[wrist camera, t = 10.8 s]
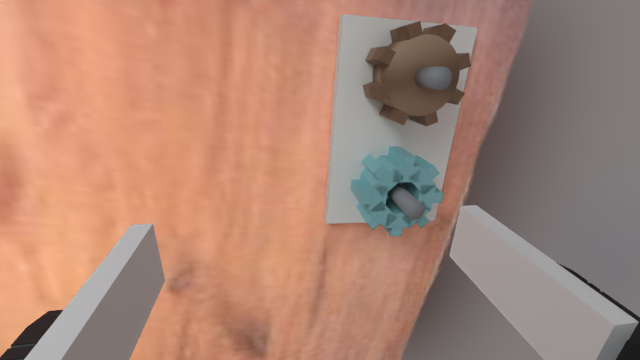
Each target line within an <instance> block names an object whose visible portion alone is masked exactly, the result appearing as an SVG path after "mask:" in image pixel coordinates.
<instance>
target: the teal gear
mask: <svg viewBox="0 0 640 360" xmlns="http://www.w3.org/2000/svg"><path fill="white" fill-rule="evenodd" d="M362 163H363V164H364V165H365V166H366V167H367V168H366V169H364V170H363V171H362V172H361V177H360V179H356V180H351V188H350V189H351V191H352V192H353V194H354V195H355V197H356V198H357V200H358V201H359V204H358V205H357V206H356V207H357V209H358V210H359V212H360V214H361V215H362V217H363V218H364V220H365V221H366V223H367V224H368V225H369V226H370V227H371V228H372V229H375V228H376V227H377V226H378V225H379V224H380V223H381V224H382V225H383V226H384V228H385V229H386V230H387V231H388V233H389V234H390V235H391V236H402V230H403V228H407V227H411V226H412V225H414V224H415V223H417V224H418V225H419V226H420V227H421V228H422V227H423V226H425V225H426V224H427V223H428V222H429V220H428V218H427V217H426V216H425V215H426V214H427V213H428V212H429V211H431V208H432V203H442V198H443V194H444V193H443V192H442V191H441V190H439V189H438V188H437V187H436V184H435V183H434V182H433V179H434V178H435V177H436V176H437V175H439V174H440V172H439V171H438V170H437V168H436V167H435V166H434V165H433V164H431V163H429V162H428V161H426V160H424V159H423V158H421V157H419V156H418V155H415V156H414V155H412V154H411V153H409V152H408V151H406V150H404V149H403V148H401V147H399V146H389V151H388V155H380V156H379V157H378V158H377V159H375V158H374V157H372V156H371V155H370V154H369V155H367V156H366V157H365V158H364V159H363V160H362ZM399 182H403V187H404V188H405V189H406V190H407V191H408V192H409V193H410V194H412V195H413V196H414V197H415V198H416V199H417V200H418V201H419V202H420V203H422V204H423V205H424V207H425V212H424V214H423V215H422V217H420V218H419V219H416V220H412V219H410V218H409V217H408V216H407V215H406V214H405V213H404V212H403V211H402V210H401V209H400V208H399V207H398V205H397V204H396V203H395V202H394V201H393V200H392V199H391V198H387V193H388V191H389V190H390V189H392V188H393V187H394V186H395V185H396V184H397V183H399Z"/></svg>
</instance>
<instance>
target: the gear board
mask: <svg viewBox="0 0 640 360" xmlns="http://www.w3.org/2000/svg"><path fill="white" fill-rule="evenodd" d="M415 22H418V21H408V20H398V19H388V18H377V17H367V16H357V15H347V14H342V15H341V16H339V28H338V42H337V55H336V69H335V82H334V96H333V109H332V122H331V136H330V149H329V163H328V176H327V189H326V203H325V216H324V218H325V221H326V223H327V224H330V223H366V221H365V220H364V218H363V217H362V215H361V214H360V212H359V210H358V209H357V207H356V206H357V205H358V204H359V201H358V200H357V198H356V197H355V195H354V194H353V192H352V191H351V189H350V188H351V180H356V179H360V177H361V172H362V171H363V170H364V169H366V168H367V167H366V166H365V165H364V164H363V163H362V160H363V159H364V158H365V157H366V156H367V155H369V154H370V155H371V156H372V157H374V158H375V159H377V158H378V157H379V156H380V155H388V151H389V146H399V147H401V148H403V149H404V150H406V151H408V152H409V153H411V154H412V155H414V156H415V155H418V156H419V157H421V158H423V159H424V160H426V161H428V162H429V163H431V164H433V165H434V166H435V167H436V168H437V170H438V171H439V172H440V174H439V175H437V176H436V177H435V178H434V179H433V182H434V183H435V184H436V187H437V188H438V189H439V190H441V191H442V186H443V182H444V177H445V173H446V168H447V164H448V159H449V155H450V150H451V146H452V141H453V137H454V132H455V128H456V123H457V118H458V114H459V109H460V105H461V100H462V99H461V100H460V102H459V104H458V105H456V104H451V103H446V104H445V105H444V106H443V107H441V108H440V109H439V110H437V111H436V113H437V118H438V122H437V123H434V124H432V125H429V126H424V125H422V124H419V123H417V122H414V121H411V120H409V118H408V119H407V120H406V122H405V124H404V126H403V125H401V124H399V123H397V122H394V121H392V120H390V119H388V118H386V117H384V116H382V115H380V114H379V113H380V111H381V109H382V107H383V105H384V104H383V103H382V102H381V101H376V100H373V99H370V98H367V97H365V93H364V89H363V86H362V85H365V84H368V83H370V82H373V79H372V77H373V69H374V66H375V65H373V64H371V63H369V62H367V61H366V60H365V59H366V57H367V55H368V53H369V51H370V49H371V48H376V47H382V46H388V45H389V44H391V43H392V39H391V34H390V30H393V29H395V28H398V27H401V26H404V25H408V24H411V23H415ZM437 25H441V24H438V23H428V22H421V27H422V31H423V29H424V28H428V27H433V26H437ZM447 25H448V24H447ZM449 26H450V27H452V28H453V29H455V30H456V32H455V34H454V36H453V38H452V39H451V41H450V44H451V45H452V46H453V48H454V49H455V51H456V53H469V56H470V60H471V55H472V51H473V46H474V42H475V37H476V33H477V28H478V27H468V26H458V25H449ZM468 69H469V67H468V68H465V69H462V70H460V74H459V80H458V84H457V87H456V88H457V89H459V90H460V91H462V92H463V91H464V87H465V82H466V78H467V73H468ZM451 80H452V73H451V71H450V69H448V68H447V67H427V66H425V67H421V68H420V69H419V70H418V71H417V72H416V75H415V82H416V84H417V85H418V86H419V87H422V88H429V89H435V90H443V89H445V88H447V87H448V86H449V84H450V83H451ZM387 198H391V199H392V200H393V201H394V202H395V203H396V204H397V205H398V207H399V208H400V209H401V210H402V211H403V212H404V213H405V214H406V215H407V216H408V217H409V218H410V219H412V220H416V219H419V218H420V217H422V215H423V214H424V212H425V207H424V205H423V204H422V203H420V202H419V201H418V200H417V199H416V198H415V197H414V196H413V195H412V194H410V193H409V192H408V191H407V190H406V189H405V188H404V187H403V182H399V183H397V184H396V185H395V186H394V187H393V188H392V189H390V190H389V191H388V193H387ZM438 204H439V203H432V208H431V211H429V212H428V213H427V214H426V215H425V216H426V217H427V218H428V220H429V221H435V218H436V213H437V209H438Z"/></svg>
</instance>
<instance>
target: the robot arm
mask: <svg viewBox="0 0 640 360" xmlns="http://www.w3.org/2000/svg"><path fill="white" fill-rule="evenodd" d="M449 256H450V257H451V258H452V259H453V260H454V261H455V263H456V264H457V265H458V266H459V267H460V268H461V269H462V270H463V271H464V272H465V273H466V275H467V276H468V277H469V278H470V279H471V280H472V281H473V282H474V283H475V284H476V286H477V287H478V288H479V289H480V290H481V291H482V292H483V293H484V294H485V295H486V297H487V298H488V299H489V300H490V301H491V302H492V303H493V304H494V305H495V306H496V307H497V308H498V310H499V311H500V312H501V313H502V314H503V315H504V316H505V317H506V319H507V320H508V321H509V322H510V323H511V324H512V325H513V326H514V327H515V328H516V329H517V331H518V332H519V333H520V334H521V335H522V336H523V337H524V338H525V339H526V340H527V341H528V343H529V344H530V345H531V346H532V347H533V348H534V349H535V350H536V351H537V352H538V354H539V355H540V356H541V357H542V358H543V359H544V360H640V317H638V316H637V315H635V314H634V313H633V312H631V311H630V310H628V309H627V308H625V307H624V306H623V305H621V304H619V303H618V302H617V301H615V300H614V299H613V298H611V297H610V296H608V295H607V294H605V293H604V292H601V291H600V289H598V288H597V287H596V286H594V285H593V284H591V283H588V281H587V280H586V279H584V278H583V277H581V276H580V275H578V274H577V273H575V272H574V271H573V270H571V269H569V268H567V267H564V266H563V265H561V264H558V263H556V262H555V261H553V260H552V259H550V258H549V257H548V256H546V255H545V254H543V253H542V252H541V251H539V250H538V249H536V248H535V247H534V246H532V245H531V244H529V243H528V242H527V241H525V240H524V239H522V238H521V237H520V236H518V235H517V234H515V233H514V232H513V231H511V230H510V229H508V228H507V227H506V226H504V225H503V224H502V223H500V222H499V221H497V220H496V219H495V218H493V217H492V216H490V215H489V214H488V213H486V212H485V211H483V210H482V209H481V208H479V207H478V206H476V205H472V206H461V208H460V212H459V217H458V221H457V225H456V230H455V234H454V238H453V243H452V247H451V251H450V255H449ZM164 281H165V278H164V273H163V268H162V264H161V259H160V254H159V250H158V245H157V240H156V236H155V231H154V226H153V224H137V225H131V226H130V227H129V228H128V230H127V231H126V232H125V233H124V235H123V236H122V237H121V239H120V240H119V241H118V242H117V244H116V245H115V246H114V247H113V249H112V250H111V251H110V252H109V254H108V255H107V256H106V257H105V259H104V260H103V261H102V262H101V264H100V265H99V266H98V267H97V269H96V270H95V271H94V272H93V274H92V275H91V276H90V277H89V279H88V280H87V281H86V282H85V284H84V285H83V286H82V288H81V289H80V290H79V291H78V293H77V294H76V295H75V296H74V298H73V299H72V300H71V301H70V303H69V304H68V305H67V306H66V308H65V309H64V310H56V311H48V312H47V313H45V314H44V315H43V316H41V317H40V318H39V319H37V320H36V321H35V322H33V323H32V324H31V325H29V326H28V327H27V328H26V329H25V330H24V331H23V332H22V333H21V335H20V336H19V337H18V338H17V339H16V340H15V341H14V343H13V344H12V345H11V348H10V349H7V350H6V352H5V353H4V354H3V355H2V356H1V357H0V360H129V359H130V357H131V355H132V352H133V350H134V348H135V346H136V344H137V341H138V339H139V337H140V335H141V332H142V330H143V328H144V326H145V324H146V321H147V319H148V317H149V315H150V312H151V310H152V308H153V306H154V304H155V301H156V299H157V297H158V295H159V293H160V290H161V288H162V286H163V284H164Z"/></svg>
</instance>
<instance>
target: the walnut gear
mask: <svg viewBox="0 0 640 360" xmlns="http://www.w3.org/2000/svg"><path fill="white" fill-rule="evenodd" d="M455 32H456V30H455V29H453V28H452V27H450V26H449V25H447V24H441V25H437V26H433V27H428V28H424V29H423V31H422V27H421V22H420V21H418V22H415V23H411V24H408V25H404V26H401V27H398V28H395V29H393V30H390V34H391V39H392V43H391V44H389V45H388V46H382V47H376V48H371V49H370V51H369V53H368V55H367V57H366V59H365V60H366V61H367V62H369V63H371V64H373V65H375V66H374V69H373V77H372V79H373V82H370V83H368V84H365V85H362V86H363V89H364V93H365V97H367V98H370V99H373V100H376V101H381V102H382V103H383V104H384V105H383V107H382V109H381V111H380V113H379V114H380V115H382V116H384V117H386V118H388V119H390V120H392V121H394V122H397V123H399V124H401V125H403V126H404V124H405V122H406V120H407V119H408V118H409V120H411V121H414V122H417V123H419V124H422V125H424V126H429V125H432V124H434V123H437V122H438V118H437V113H436V111H437V110H439V109H440V108H441V107H443V106H444V105H445V104H446V103H451V104H456V105H458V104H459V102H460V100H461V99H462V97H463V95H464V94H465V93H464V92H462V91H460V90H459V89H457V88H456V87H457V84H458V80H459V74H460V70H462V69H465V68H468V67H470V66H471V64H470V56H469V53H456V51H455V49H454V48H453V46H452V45H451V44H450V41H451V39H452V38H453V36H454V34H455ZM425 66H427V67H447V68H448V69H450V71H451V73H452V80H451V83H450V84H449V86H448V87H447V88H445V89H443V90H435V89H429V88H422V87H419V86H418V85H417V84H416V82H415V75H416V72H417V71H418V70H419V69H420V68H421V67H425Z"/></svg>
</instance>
